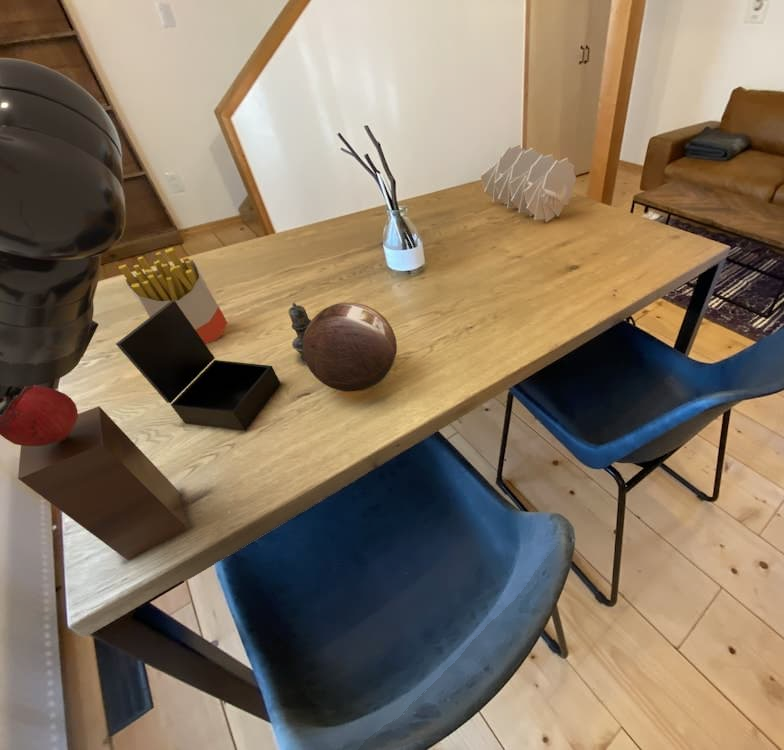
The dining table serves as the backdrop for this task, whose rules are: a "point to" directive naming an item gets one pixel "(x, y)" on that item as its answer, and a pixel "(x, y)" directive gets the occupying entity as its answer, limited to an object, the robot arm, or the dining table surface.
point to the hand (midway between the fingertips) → (13, 407)
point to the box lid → (167, 351)
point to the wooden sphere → (349, 347)
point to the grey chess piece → (299, 327)
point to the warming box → (227, 395)
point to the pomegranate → (39, 418)
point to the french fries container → (177, 292)
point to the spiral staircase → (530, 182)
